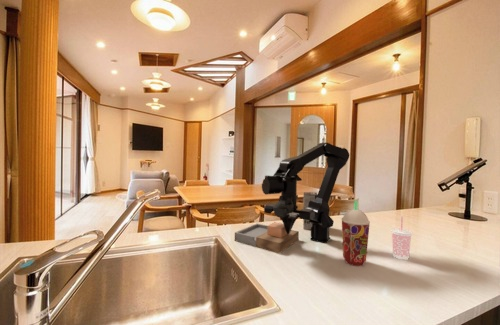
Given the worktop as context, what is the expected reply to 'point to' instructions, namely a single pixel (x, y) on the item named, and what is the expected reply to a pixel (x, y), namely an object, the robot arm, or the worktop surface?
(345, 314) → the worktop surface
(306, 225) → the coffee box
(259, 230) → the box
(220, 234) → the worktop surface
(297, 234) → the board
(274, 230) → the salmon pink block
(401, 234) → the beverage cup
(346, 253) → the smoothie
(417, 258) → the worktop surface
